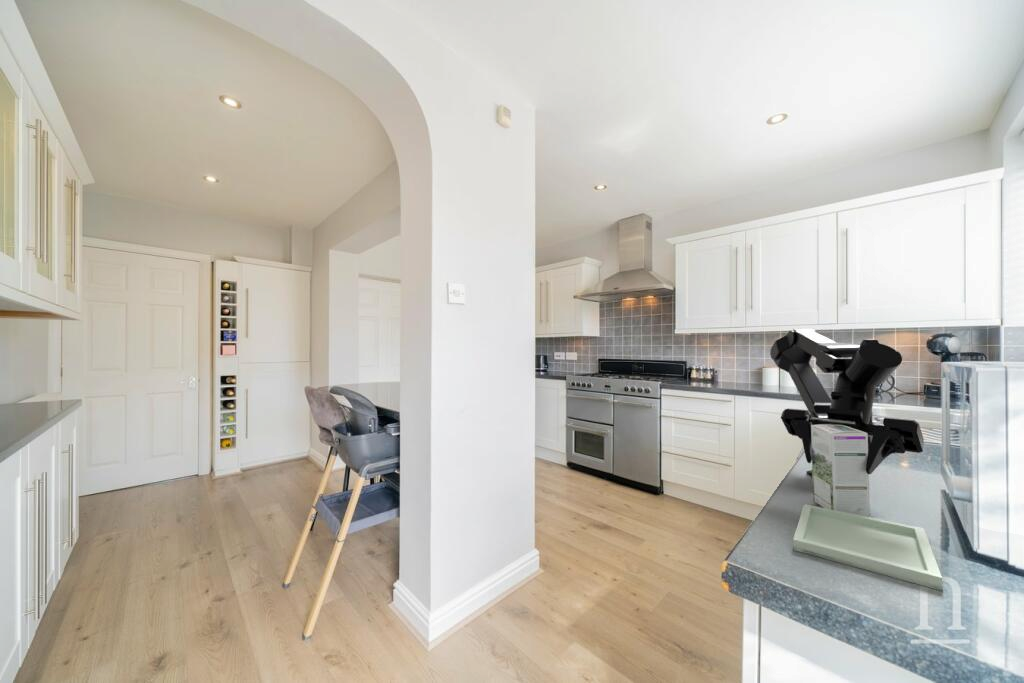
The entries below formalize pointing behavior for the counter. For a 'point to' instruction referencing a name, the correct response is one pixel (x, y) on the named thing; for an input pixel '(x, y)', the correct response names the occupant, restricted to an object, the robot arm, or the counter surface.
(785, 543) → the counter surface
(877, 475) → the counter surface
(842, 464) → the syrup box
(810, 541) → the tray
